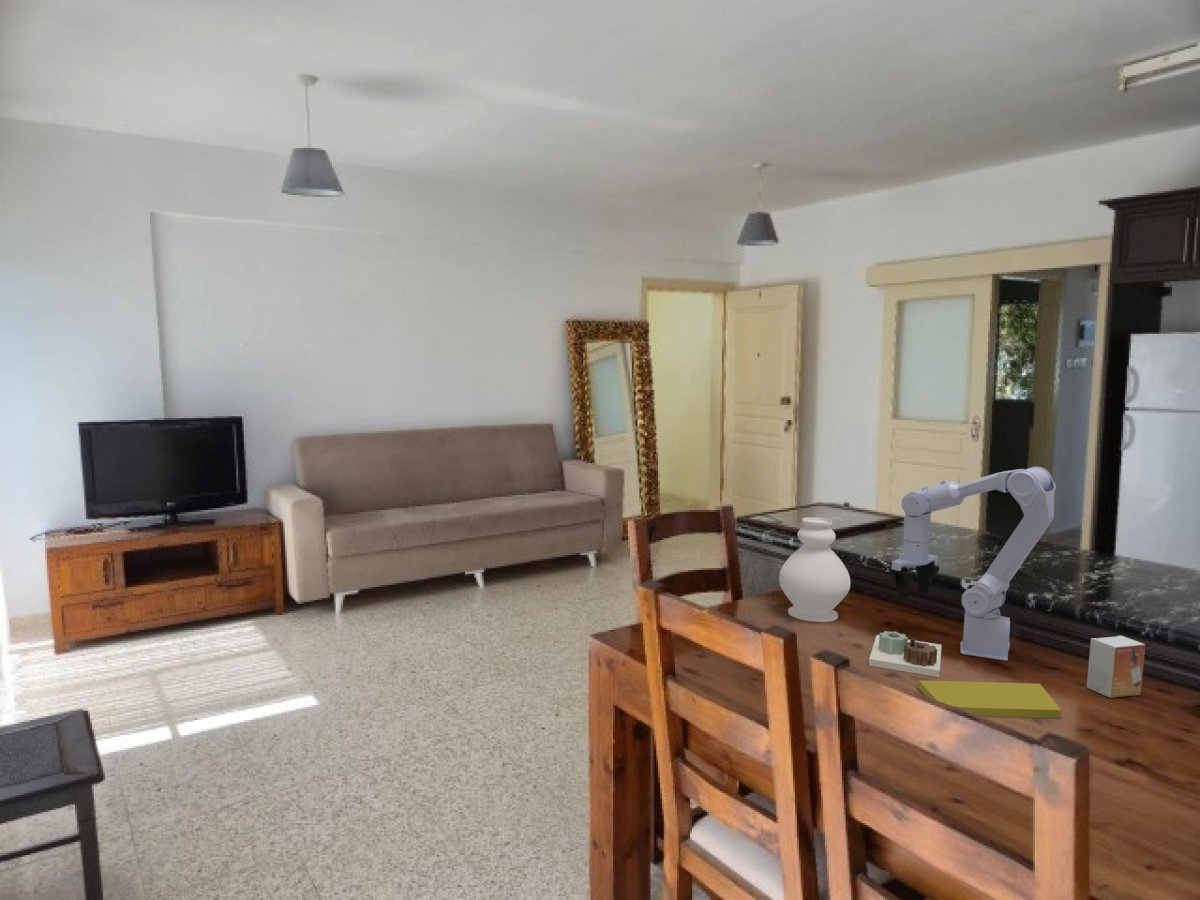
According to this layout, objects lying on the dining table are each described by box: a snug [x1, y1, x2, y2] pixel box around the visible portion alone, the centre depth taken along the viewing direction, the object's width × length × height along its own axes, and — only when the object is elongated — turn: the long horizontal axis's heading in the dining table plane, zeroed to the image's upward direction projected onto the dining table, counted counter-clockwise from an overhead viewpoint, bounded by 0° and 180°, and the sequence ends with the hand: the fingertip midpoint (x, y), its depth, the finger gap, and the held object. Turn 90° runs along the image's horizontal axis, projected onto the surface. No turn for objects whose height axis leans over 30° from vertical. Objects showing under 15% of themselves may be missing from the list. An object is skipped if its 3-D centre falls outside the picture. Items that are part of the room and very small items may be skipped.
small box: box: [1086, 635, 1146, 699], centre depth 156 cm, size 8×6×10 cm
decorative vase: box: [778, 516, 851, 623], centre depth 201 cm, size 18×18×25 cm
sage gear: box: [879, 630, 909, 655], centre depth 173 cm, size 6×6×3 cm
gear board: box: [868, 633, 942, 678], centre depth 172 cm, size 14×17×6 cm
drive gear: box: [904, 637, 937, 666], centre depth 167 cm, size 6×6×4 cm
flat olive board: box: [917, 679, 1062, 719], centre depth 150 cm, size 12×2×24 cm
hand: (913, 595), depth 188 cm, fingers open, 7 cm apart
